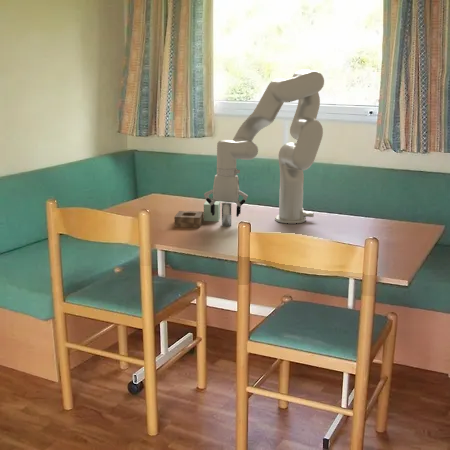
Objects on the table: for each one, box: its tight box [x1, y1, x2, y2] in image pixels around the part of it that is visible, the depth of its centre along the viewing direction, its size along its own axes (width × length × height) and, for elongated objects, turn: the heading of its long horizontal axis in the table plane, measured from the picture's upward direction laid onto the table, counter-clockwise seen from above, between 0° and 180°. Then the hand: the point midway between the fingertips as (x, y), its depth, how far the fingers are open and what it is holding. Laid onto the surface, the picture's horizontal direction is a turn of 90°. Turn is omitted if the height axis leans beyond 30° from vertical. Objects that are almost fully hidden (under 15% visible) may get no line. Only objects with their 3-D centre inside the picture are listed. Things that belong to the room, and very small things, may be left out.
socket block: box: [174, 210, 205, 229], centre depth 253 cm, size 10×10×4 cm
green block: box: [203, 200, 221, 222], centre depth 260 cm, size 6×6×7 cm
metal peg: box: [221, 201, 232, 228], centre depth 250 cm, size 4×4×9 cm
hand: (225, 215), depth 250 cm, fingers open, 9 cm apart
